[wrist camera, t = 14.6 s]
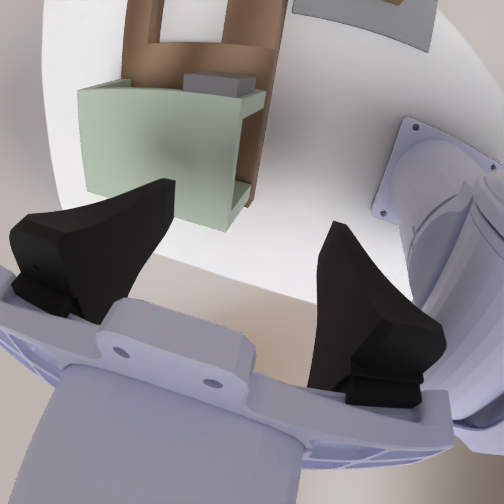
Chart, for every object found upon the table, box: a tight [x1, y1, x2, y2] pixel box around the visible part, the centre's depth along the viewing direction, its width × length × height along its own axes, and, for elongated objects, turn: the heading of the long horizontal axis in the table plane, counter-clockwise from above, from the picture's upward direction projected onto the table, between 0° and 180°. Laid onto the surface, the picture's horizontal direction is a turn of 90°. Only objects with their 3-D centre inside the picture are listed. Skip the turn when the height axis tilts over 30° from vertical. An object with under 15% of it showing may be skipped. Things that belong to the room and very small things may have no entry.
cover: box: [77, 71, 266, 232], centre depth 17 cm, size 12×9×5 cm
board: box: [121, 0, 288, 208], centre depth 17 cm, size 12×20×2 cm, turn 173°
